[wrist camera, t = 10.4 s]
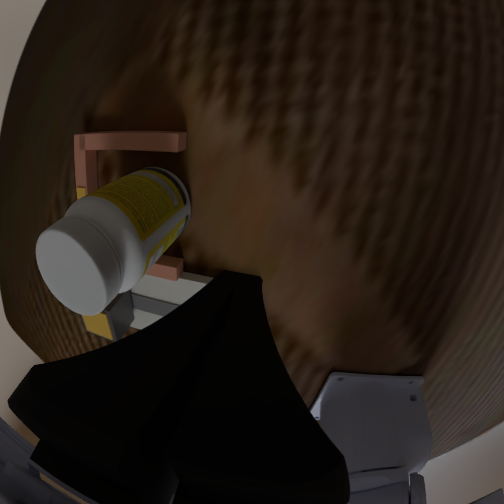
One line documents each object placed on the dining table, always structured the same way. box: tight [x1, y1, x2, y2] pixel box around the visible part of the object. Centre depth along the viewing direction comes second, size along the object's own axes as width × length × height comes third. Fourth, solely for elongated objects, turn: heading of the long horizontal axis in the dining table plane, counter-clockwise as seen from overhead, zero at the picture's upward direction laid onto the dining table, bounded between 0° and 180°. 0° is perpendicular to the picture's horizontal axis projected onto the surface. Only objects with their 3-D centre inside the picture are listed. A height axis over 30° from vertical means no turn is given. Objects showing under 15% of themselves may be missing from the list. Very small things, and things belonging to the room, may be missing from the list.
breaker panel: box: [130, 272, 213, 329], centre depth 19 cm, size 12×6×1 cm, turn 83°
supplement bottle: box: [36, 167, 191, 316], centre depth 13 cm, size 5×5×8 cm
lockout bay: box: [74, 131, 187, 281], centre depth 16 cm, size 8×9×1 cm
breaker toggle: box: [80, 290, 135, 342], centre depth 18 cm, size 3×3×3 cm
